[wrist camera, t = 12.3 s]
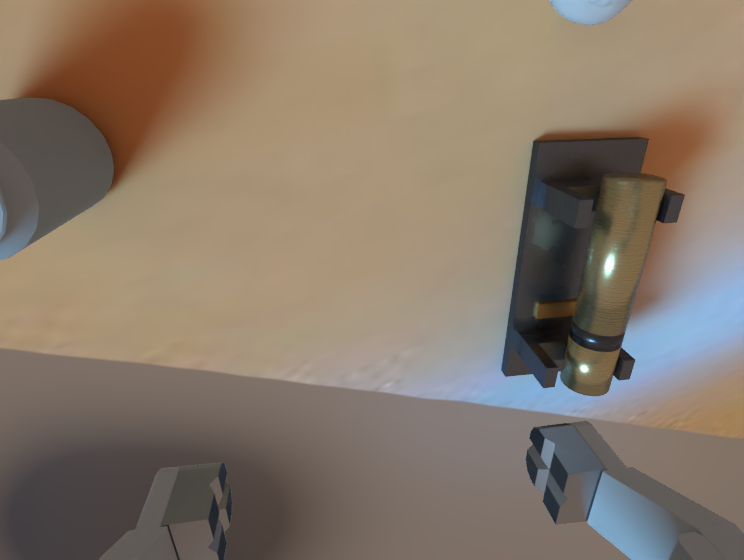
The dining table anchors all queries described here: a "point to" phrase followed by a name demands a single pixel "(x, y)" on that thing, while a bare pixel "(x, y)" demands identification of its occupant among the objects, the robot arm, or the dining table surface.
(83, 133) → the can
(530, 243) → the stand
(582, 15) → the light grey rounded piece
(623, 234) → the tube
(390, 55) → the dining table surface
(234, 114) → the dining table surface
